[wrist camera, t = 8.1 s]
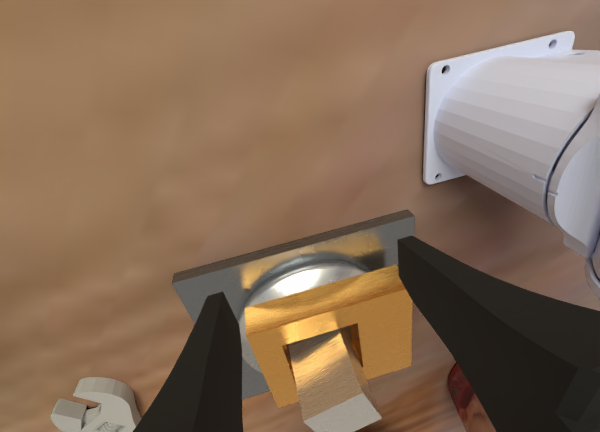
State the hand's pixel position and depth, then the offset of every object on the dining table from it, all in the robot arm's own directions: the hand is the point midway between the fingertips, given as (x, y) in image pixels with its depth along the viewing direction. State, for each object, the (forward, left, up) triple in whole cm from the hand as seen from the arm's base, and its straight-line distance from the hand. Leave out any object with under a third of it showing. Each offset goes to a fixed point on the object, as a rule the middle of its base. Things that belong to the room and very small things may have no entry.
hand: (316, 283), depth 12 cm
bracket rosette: (0, +13, -9) cm, 16 cm away
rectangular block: (0, +13, -7) cm, 15 cm away
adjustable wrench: (+20, +25, -10) cm, 33 cm away
